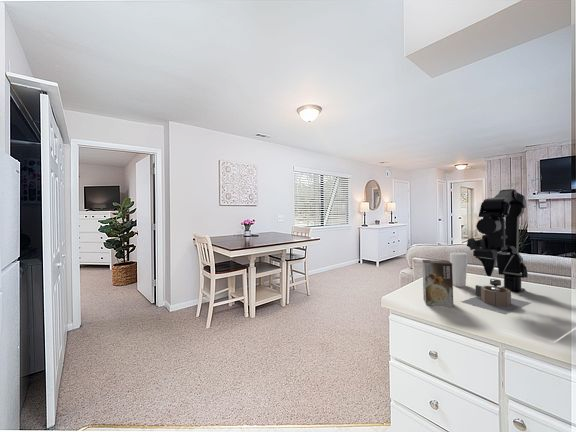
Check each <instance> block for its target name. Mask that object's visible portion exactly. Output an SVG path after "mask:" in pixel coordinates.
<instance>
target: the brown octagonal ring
mask: <svg viewBox="0 0 576 432" xmlns="http://www.w3.org/2000/svg"><path fill="white" fill-rule="evenodd" d="M492 287H494V285H483V286H482V285H477V284H476V285H475V297H476V296H479V297H481V300H482V301H483V302H484V303H487V304H490V305H494V306H505V307H506V306H510V305H511V298H512V291H510V290H508V289H507V288H502V287H503V286H497V288H499V289H500V291H497V292H495V291H494V290H492V289H491V288H492Z"/></svg>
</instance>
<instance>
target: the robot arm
mask: <svg viewBox="0 0 576 432" xmlns="http://www.w3.org/2000/svg"><path fill="white" fill-rule="evenodd" d="M526 207H527V200H526V197H525V195H523V194H522V193H519V192H517V189H513V188H510V189H508V188H507V189H501V190H499V192H498V193H497V194H496V195H495V196H494V197H491V198H485V199H483V202H481V203H480V207H479V213H478V218H480V219H479V220H478V221H477V223H476V230H477V231H478V232H480V233H481V234H483V235H482V236H481V239H475V238H468V239H467V242H466V247H468V248H469V249H470V251H472V255H473V257H475V259H477V260H479V261H480V262H481V264H482V266H483V270H484V271H485V274H486V276H488V277H491V276H492V274H493V272H494V270H495V266H496V264H497V271H498V275H502V276H503V286H501V287H502V288H507V289H508V290H510V291H511V292H514V293H515V292H516V293H521V292H523V291H525V290H526V289H525V288H523V287H522V278H523V279H524V278H525V279H526V278H528V269H527V266H526V263H524V258H523V257H522V255H521V254H520V253H519V242H520V241H519V234H520V233H519V232H520V231H519V230H520V218H521V217H522V216H523V214H524V213H525V209H527V208H526Z"/></svg>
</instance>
